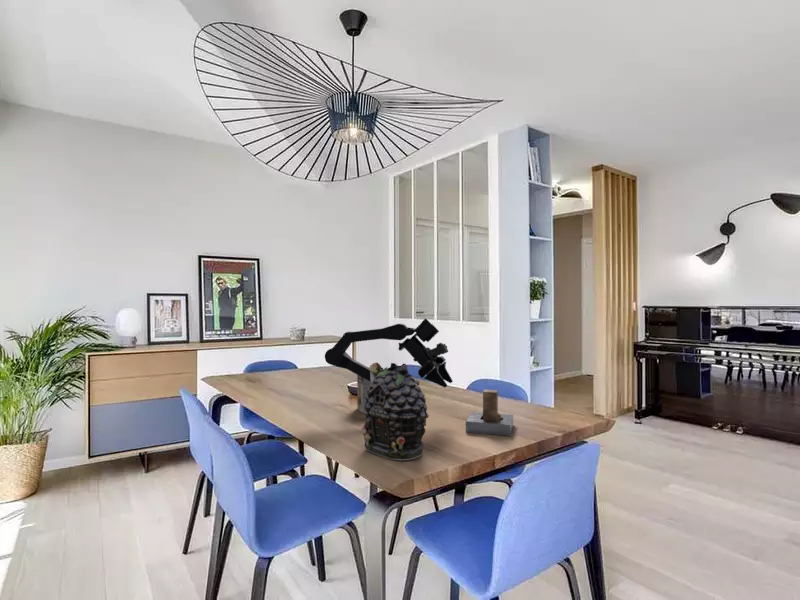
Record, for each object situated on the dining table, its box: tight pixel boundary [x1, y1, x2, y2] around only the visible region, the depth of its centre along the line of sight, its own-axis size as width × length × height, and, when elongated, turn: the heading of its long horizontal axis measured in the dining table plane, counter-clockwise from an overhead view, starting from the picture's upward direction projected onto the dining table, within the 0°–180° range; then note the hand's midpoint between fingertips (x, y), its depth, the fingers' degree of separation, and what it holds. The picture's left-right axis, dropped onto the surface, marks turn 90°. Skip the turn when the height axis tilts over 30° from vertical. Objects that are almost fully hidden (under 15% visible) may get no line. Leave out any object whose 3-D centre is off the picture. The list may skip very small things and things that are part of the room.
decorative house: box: [360, 362, 430, 461], centre depth 125 cm, size 21×15×25 cm
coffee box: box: [356, 374, 371, 414], centre depth 174 cm, size 9×6×16 cm
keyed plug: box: [482, 388, 502, 421], centre depth 149 cm, size 6×4×12 cm
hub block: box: [465, 411, 514, 437], centre depth 149 cm, size 14×14×4 cm
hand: (449, 384), depth 155 cm, fingers open, 9 cm apart
